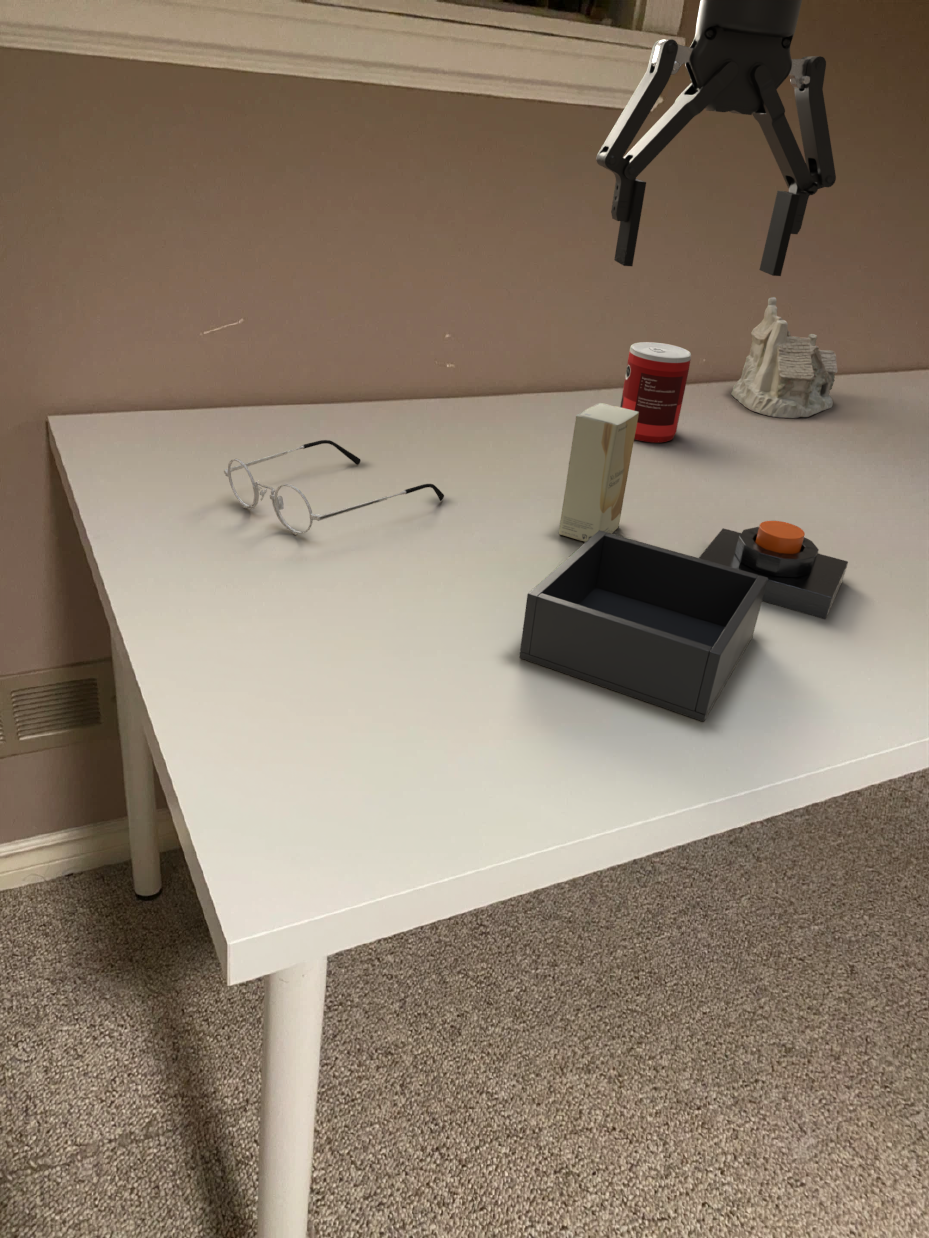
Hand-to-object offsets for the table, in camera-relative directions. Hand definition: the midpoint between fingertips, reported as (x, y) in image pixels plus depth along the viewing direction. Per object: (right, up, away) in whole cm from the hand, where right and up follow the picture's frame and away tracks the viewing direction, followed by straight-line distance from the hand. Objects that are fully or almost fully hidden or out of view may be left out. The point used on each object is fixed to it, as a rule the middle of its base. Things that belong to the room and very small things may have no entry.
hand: (697, 269), depth 82 cm
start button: (+8, -24, +4) cm, 26 cm away
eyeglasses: (-34, -19, +14) cm, 41 cm away
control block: (+8, -27, +6) cm, 29 cm away
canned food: (+4, -6, +43) cm, 43 cm away
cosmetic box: (-8, -22, +13) cm, 26 cm away
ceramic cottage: (+28, +2, +62) cm, 68 cm away
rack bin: (-6, -33, -7) cm, 34 cm away
